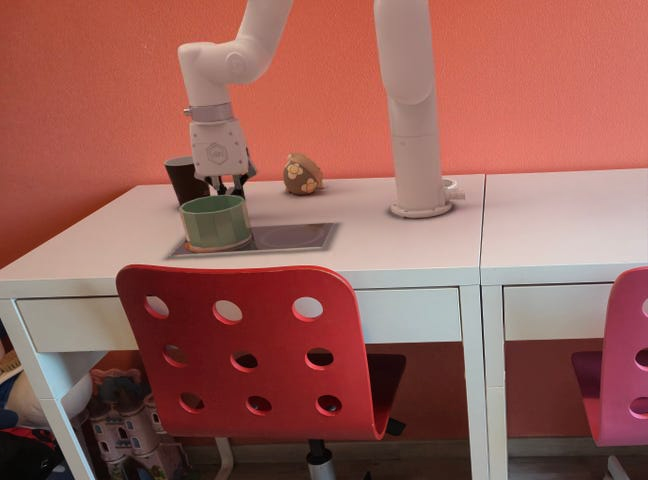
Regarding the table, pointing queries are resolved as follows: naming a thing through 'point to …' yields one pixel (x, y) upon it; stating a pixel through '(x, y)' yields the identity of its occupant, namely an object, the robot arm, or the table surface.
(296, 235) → the hob
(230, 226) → the saucepan
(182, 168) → the coffee mug
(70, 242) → the table surface
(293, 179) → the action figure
